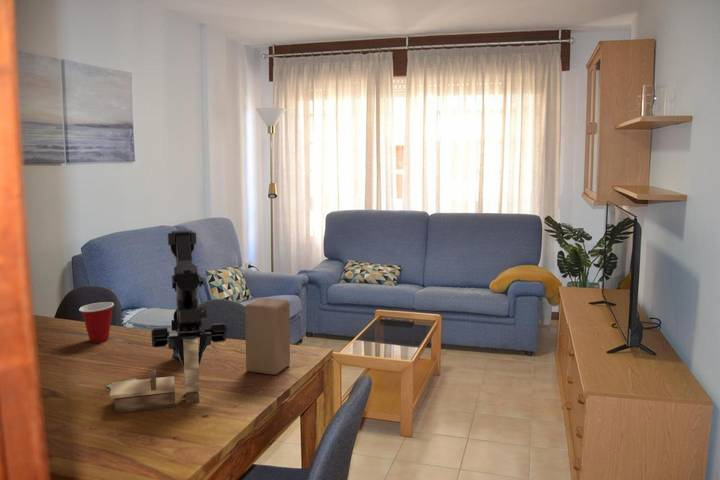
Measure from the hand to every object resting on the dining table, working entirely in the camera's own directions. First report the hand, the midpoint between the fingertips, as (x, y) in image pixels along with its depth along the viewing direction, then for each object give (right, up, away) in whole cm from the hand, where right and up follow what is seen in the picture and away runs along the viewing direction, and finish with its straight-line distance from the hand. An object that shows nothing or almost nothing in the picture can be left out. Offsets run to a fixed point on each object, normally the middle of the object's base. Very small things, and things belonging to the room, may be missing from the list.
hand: (191, 364), depth 155 cm
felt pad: (-20, -8, +10) cm, 23 cm away
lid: (-12, -6, -2) cm, 13 cm away
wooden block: (+16, -6, +24) cm, 30 cm away
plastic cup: (-45, -2, +50) cm, 67 cm away
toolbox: (-8, -9, 0) cm, 13 cm away
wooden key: (-1, -7, +2) cm, 7 cm away
